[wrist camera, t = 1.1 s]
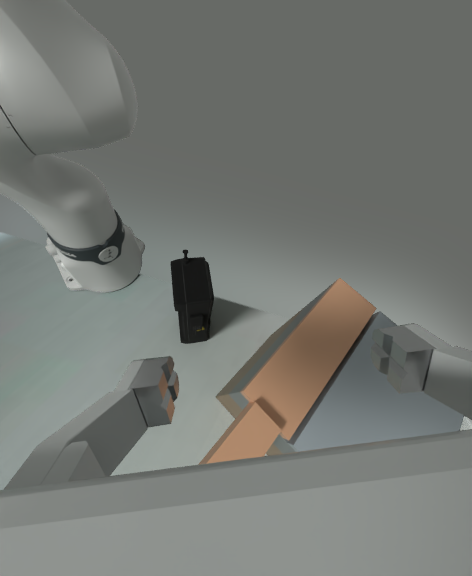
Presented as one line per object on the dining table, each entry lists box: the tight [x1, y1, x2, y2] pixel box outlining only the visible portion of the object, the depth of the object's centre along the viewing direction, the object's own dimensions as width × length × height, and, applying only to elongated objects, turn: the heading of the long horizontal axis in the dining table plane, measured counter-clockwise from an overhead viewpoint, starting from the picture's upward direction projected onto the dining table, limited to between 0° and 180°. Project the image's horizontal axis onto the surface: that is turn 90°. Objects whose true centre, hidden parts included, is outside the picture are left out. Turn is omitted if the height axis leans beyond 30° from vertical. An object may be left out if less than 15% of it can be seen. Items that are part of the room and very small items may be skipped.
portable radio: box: [171, 250, 214, 344], centre depth 39 cm, size 8×6×25 cm
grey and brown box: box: [216, 286, 464, 456], centre depth 35 cm, size 18×18×28 cm
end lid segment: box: [198, 278, 376, 465], centre depth 22 cm, size 6×28×2 cm, turn 136°
